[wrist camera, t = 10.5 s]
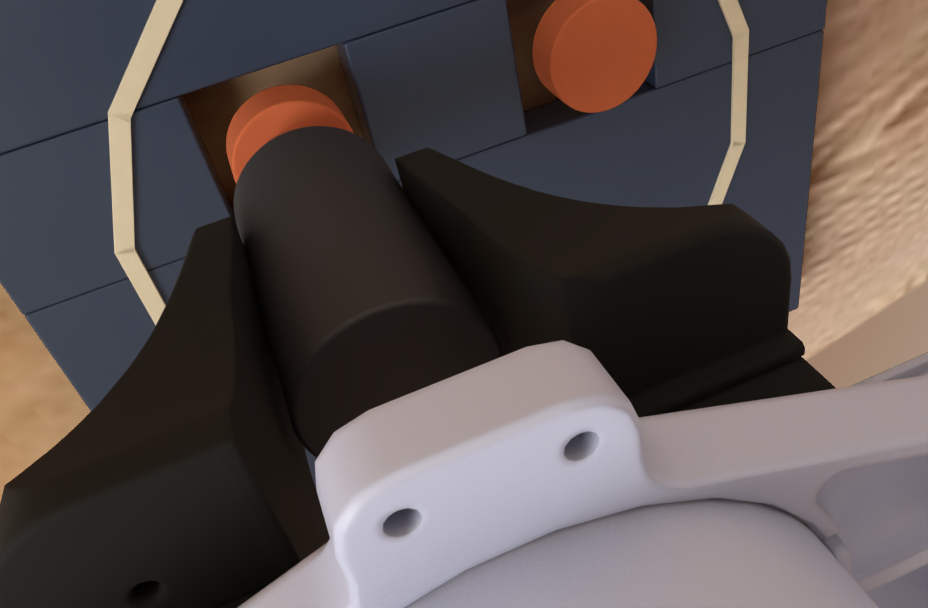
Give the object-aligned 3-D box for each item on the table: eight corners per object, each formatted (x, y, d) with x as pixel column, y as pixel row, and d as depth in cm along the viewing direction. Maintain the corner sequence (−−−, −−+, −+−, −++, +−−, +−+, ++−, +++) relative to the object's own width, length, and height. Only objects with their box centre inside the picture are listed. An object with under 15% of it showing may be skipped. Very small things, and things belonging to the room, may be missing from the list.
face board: (823, -420, 16) (871, -430, 15) (775, 288, 27) (801, 310, 26) (-264, -142, 13) (-294, -131, 12) (191, 529, 24) (195, 564, 23)
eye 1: (328, 67, 17) (340, 83, 16) (362, 175, 18) (374, 195, 18) (206, 107, 16) (211, 126, 16) (251, 214, 18) (258, 236, 17)
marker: (353, 78, 16) (486, 267, 10) (391, 209, 17) (521, 426, 12) (200, 129, 15) (256, 355, 10) (256, 258, 17) (329, 506, 12)
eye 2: (631, -33, 18) (655, -22, 17) (638, 77, 20) (660, 92, 19) (523, 2, 17) (543, 15, 17) (539, 112, 19) (558, 128, 18)
